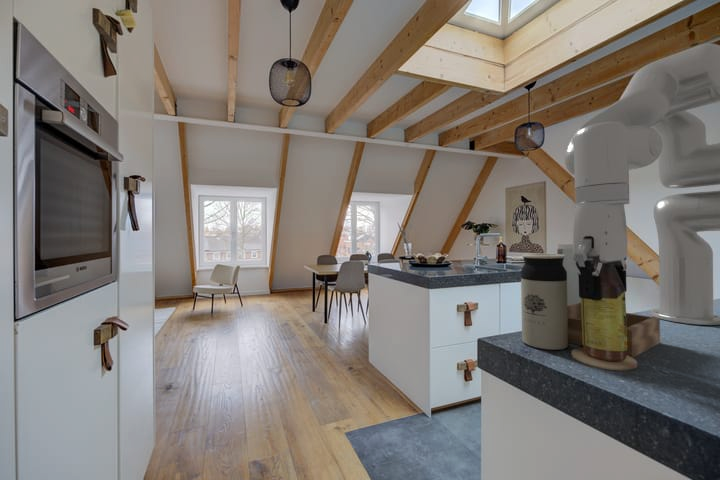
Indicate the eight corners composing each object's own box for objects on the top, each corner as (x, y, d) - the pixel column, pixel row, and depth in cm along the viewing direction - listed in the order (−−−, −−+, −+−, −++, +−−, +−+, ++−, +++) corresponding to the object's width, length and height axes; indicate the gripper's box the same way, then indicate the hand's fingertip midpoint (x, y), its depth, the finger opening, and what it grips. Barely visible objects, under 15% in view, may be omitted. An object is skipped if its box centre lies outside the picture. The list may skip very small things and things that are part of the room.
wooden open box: (590, 328, 73) (590, 298, 73) (659, 342, 63) (659, 307, 63) (559, 340, 66) (559, 306, 66) (632, 358, 56) (631, 318, 56)
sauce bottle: (636, 364, 52) (635, 242, 52) (593, 362, 53) (591, 243, 53) (613, 350, 58) (611, 241, 58) (575, 348, 59) (573, 242, 59)
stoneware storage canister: (542, 336, 69) (541, 253, 69) (577, 348, 61) (576, 254, 61) (513, 340, 66) (511, 254, 66) (546, 353, 59) (545, 256, 59)
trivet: (585, 347, 62) (585, 344, 62) (645, 362, 54) (645, 358, 54) (562, 357, 57) (562, 354, 57) (624, 375, 49) (624, 371, 49)
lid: (591, 328, 74) (590, 242, 73) (596, 329, 73) (595, 242, 73) (557, 340, 66) (556, 244, 66) (563, 342, 65) (561, 244, 65)
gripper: (598, 200, 63) (600, 286, 63) (552, 198, 54) (555, 298, 54) (647, 196, 57) (649, 291, 57) (604, 192, 48) (607, 306, 48)
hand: (603, 295), depth 56 cm, fingers open, 9 cm apart
